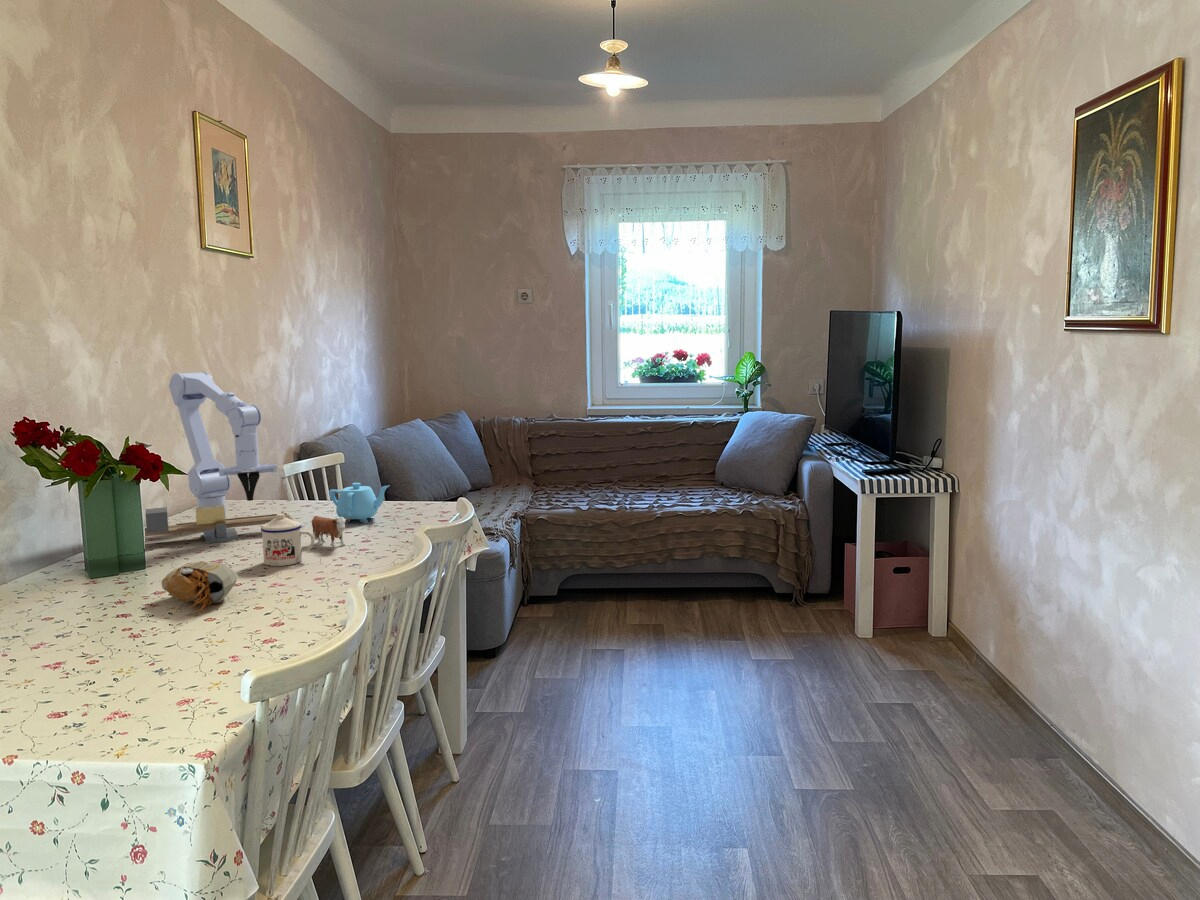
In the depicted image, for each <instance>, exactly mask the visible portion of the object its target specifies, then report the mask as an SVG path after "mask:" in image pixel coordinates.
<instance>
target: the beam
mask: <svg viewBox="0 0 1200 900" xmlns="http://www.w3.org/2000/svg"><path fill="white" fill-rule="evenodd" d="M167 508H168V507H167V506H165V507H155V508H154V507H153V508H145V513H144V514H145V524H146V527H145V528H144V536H145V537H151V536H152V537H153V536H161V535H162V536H163V535H169V534H170V535H171V534H181V533H190V532H192V533H193V532H200V531H201V532H203V531H208V530H214V529H216V525H208V526H198V527H197V524H196V521H192V522H182V523H176V524H170V525H169V520H168V518H169V517H168V509H167ZM277 514H278V513H274V514H273V513H272V514H262V515H253V516H243V517H234V518H233V517H231V518H226V519H225V520H226V529H228V528H240V527H241V528H242V527H249V526H260V525H261V526H262V525H264V524H266V523H269V522H270V521H271V520H273V519H276V515H277ZM281 514H284V515H285V518H289V519H291V520H293V518H292V517H291V515H290V514H289V513H287V512H286V513H285V512H283V513H281Z"/></svg>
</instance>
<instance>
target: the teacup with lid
mask: <svg viewBox="0 0 1200 900" xmlns="http://www.w3.org/2000/svg"><path fill="white" fill-rule="evenodd" d="M276 514H277V515H276V519H273V520H271V521H270V522H269V523H266V524H261V528H260V531H261V536H262V538H261V539H262V553H263V563H264V565H265V566H268V565H270V566H269V567H286V566H285V565H288V566H292V564H293V565H296V564H299V563H301V562H302V560H303V553H304V552H308V551H309V550H311V549H312V548H313V546H314V544H315V541H316V540H315V538H314V535H313V532H311V531H308V530H301V528H302V525H301V522H300V521H298V520H293V519H292V520H291V519H289V518H285V515H284V514H282V513H276ZM301 535H308V536H309V537H310V540H311V541H310V544H309V546H307V547H303V548H302V536H301ZM298 562H299V563H298ZM295 563H296V564H295Z"/></svg>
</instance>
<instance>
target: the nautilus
mask: <svg viewBox="0 0 1200 900" xmlns="http://www.w3.org/2000/svg"><path fill="white" fill-rule="evenodd" d="M237 580H238V574H237V573H236V572H235V571H234V570H233V569H232V568H231V567H229V566H228V565H227V564H225V563H222V562H221V563H220V562H208V561H203V560H202V561H196V562H195V561H194V562H192V563H189V564H185V565H183V566H179V567H178V568H176V569H173V570H172V571H170V572H169V573H167V574H166V575H165V577H164V578H163V579H162V580H161V587H162V589H163V590H164V591H165V592H167V593H168V594H169V595H170V596H171V597H173V598H174V599H177V601H179V602H182V603H187V602H192V601H193V602H194V603H193V604H191V605H190V606H189V607H187V608H186V609H190V608H193V607H195V606H197V605H198V604H199V605H198V606H197V607H196V608H195V609H194V610H192V611H191V613H190V614H186V616H187V617H188V616H191V615H195V614H197V613H200V612H202V614H204V613H205V612H204V610H205V609H206V608H207V609H206V610H207V611H209V607H210V606H211V605H212V604H214V603H221V602H222V601H223V600H224V599H225V598H226V597H227V595H228V594H229V593H230V592H231V590H232V589H233V587H234V586H235V585H236V583H237ZM200 607H201V608H200ZM199 608H200V609H199ZM196 610H198V611H196ZM194 611H196V612H194ZM193 612H194V613H193Z"/></svg>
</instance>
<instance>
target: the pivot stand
mask: <svg viewBox="0 0 1200 900" xmlns="http://www.w3.org/2000/svg"><path fill="white" fill-rule="evenodd" d="M202 532H203V534H204V535H203V537H204V538H205V539H204V538H203V539H204V542H205V544H206V543H208V544H215V542H217V543H226V541H227V542H234V541H233V540H236V541H239V535H238V533H237V530H236V527H232V528H226V523H220V524H216V529H212V530H202Z"/></svg>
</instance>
